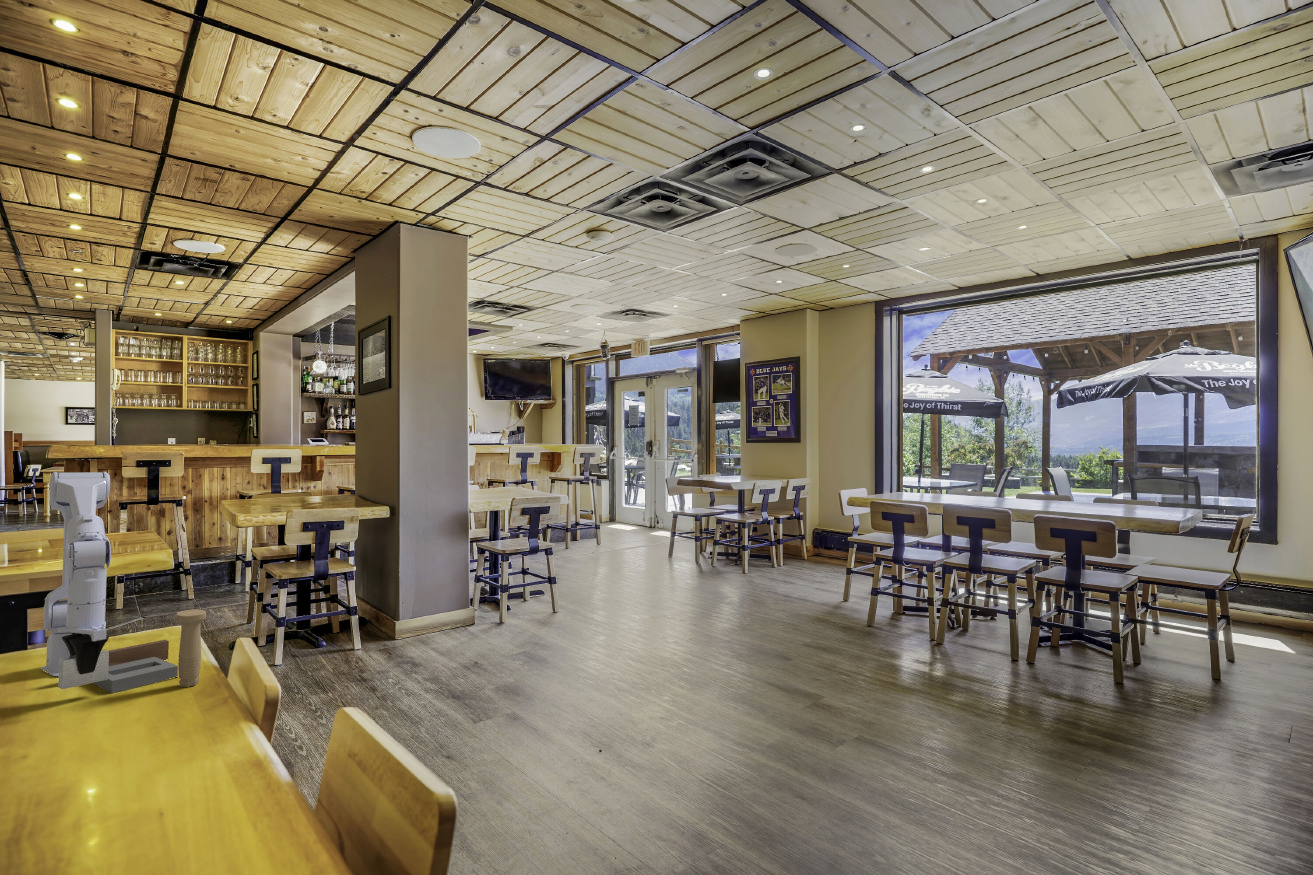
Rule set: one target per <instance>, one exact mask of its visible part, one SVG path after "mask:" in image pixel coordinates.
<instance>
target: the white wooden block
mask: <svg viewBox="0 0 1313 875" xmlns="http://www.w3.org/2000/svg"><path fill="white" fill-rule="evenodd" d="M108 665H109V650H107V649H102V650H101V652H100V655H99V658H98V661H97V664H96V668H95V670H94V672H91V673H86V674H82V675H81V674H80V673H79V671H78V665H77V658H76V655H75V656H69V657H64V658H59V676H58V684H57V685H58V688H59V689H61V690H62V691H63V690H67V689H71V688H75V687H80V686H84V685H89V684H93V683H94V682H98V681H103V680H107V679H108Z"/></svg>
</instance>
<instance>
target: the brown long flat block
mask: <svg viewBox="0 0 1313 875" xmlns="http://www.w3.org/2000/svg"><path fill="white" fill-rule="evenodd" d="M169 645H170V640H167V639H161V640H155V641H151V642H147V643H145V642H144V643H141V644H135V645H131V646H130V645H129V646H125V647H120V648H114V649H110V650H108V651H109V665H108V666H113V665H118V664H122V663H127V662H132V661H137V660H141V659H146V658H151V657H157V658H159V659H162V660H166V659H168V660H169V648H170V647H169Z"/></svg>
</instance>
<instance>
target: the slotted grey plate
mask: <svg viewBox="0 0 1313 875" xmlns="http://www.w3.org/2000/svg"><path fill="white" fill-rule="evenodd" d="M176 676H177V677H178V676H179V669H178V664H177V665H176V664H173V663H171V662H169V661H168V662H167V661H164V660H162V659H159V658H157V657H151V658H146V659H141V660H137V661H132V662H127V663H122V664H118V665H113V666H108V679H107V680H103V681H98V682H94V683H92V684H93V685H95V686H97V687H98V688H100V687H101V689H102V690H104V689H105V690H104V691H106V692H108V693H110V694H115V693H119V692H123V691H127V690H132V689H135V688H140V686H141V687H144V686H143V685H145V686H149V685H152V684H151V683H153V684H156V683H155V682H157V683H160V682H159V681H162V680H166V679H169V678H173V677H176ZM166 681H167V680H166ZM162 682H163V681H162ZM148 684H149V685H148Z"/></svg>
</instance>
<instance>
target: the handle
mask: <svg viewBox="0 0 1313 875" xmlns="http://www.w3.org/2000/svg"><path fill="white" fill-rule="evenodd" d="M206 618H207V611H206V610H204V609H187V610H181V611H178V612H176V617H175V620H176V622H177V623H178V624H180V625H181V627H180V628H181V629H180V640H179V652H178V662H177V663H178V664H177V666H178V678H179V679H180V680H179V681H178V682H179V687H180V688H189V687H194V686H196V685H197V684H199V680H200V672H201V668H202V666H201V665H202V664H201V663H202V641H201V640H202V638H201V624H202V621H204V620H206Z"/></svg>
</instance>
